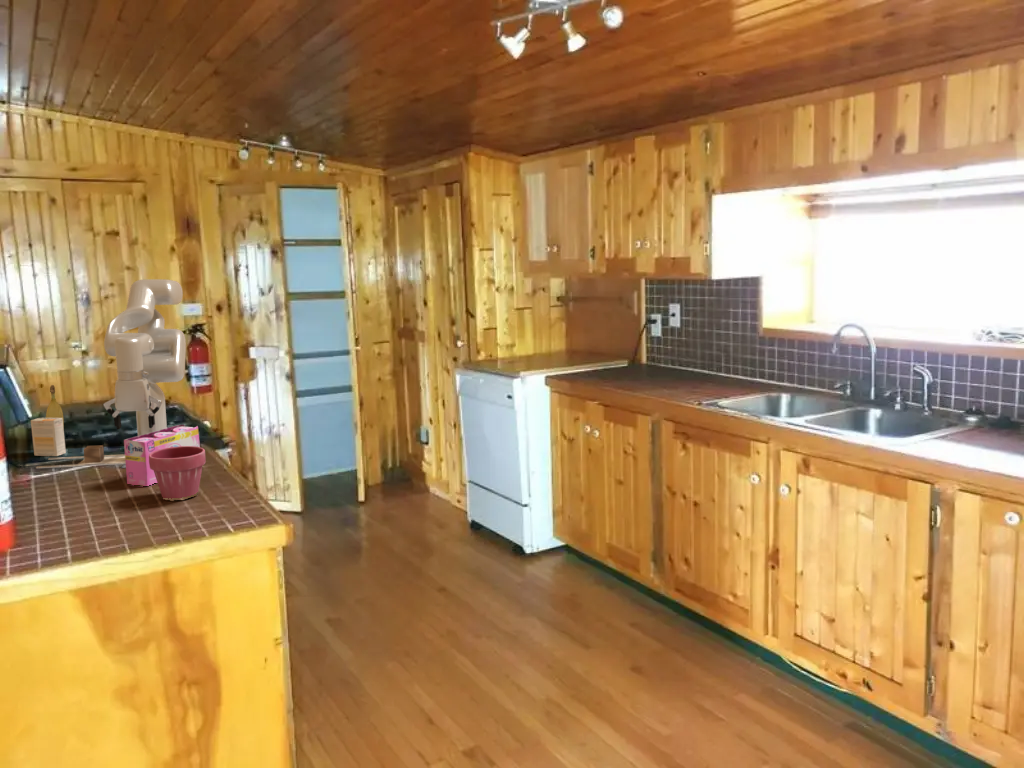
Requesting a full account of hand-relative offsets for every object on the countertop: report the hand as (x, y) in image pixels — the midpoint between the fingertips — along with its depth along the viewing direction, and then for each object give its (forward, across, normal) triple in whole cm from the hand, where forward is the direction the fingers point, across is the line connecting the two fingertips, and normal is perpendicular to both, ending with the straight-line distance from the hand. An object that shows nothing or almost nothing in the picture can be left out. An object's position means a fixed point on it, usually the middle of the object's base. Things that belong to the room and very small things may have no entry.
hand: (135, 427), depth 255 cm
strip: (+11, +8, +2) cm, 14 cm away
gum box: (+10, -12, +20) cm, 26 cm away
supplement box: (+12, +30, -11) cm, 34 cm away
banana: (+13, +34, -30) cm, 48 cm away
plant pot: (+9, -20, +44) cm, 49 cm away
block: (+10, +12, +2) cm, 16 cm away
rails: (+11, +12, +2) cm, 17 cm away
